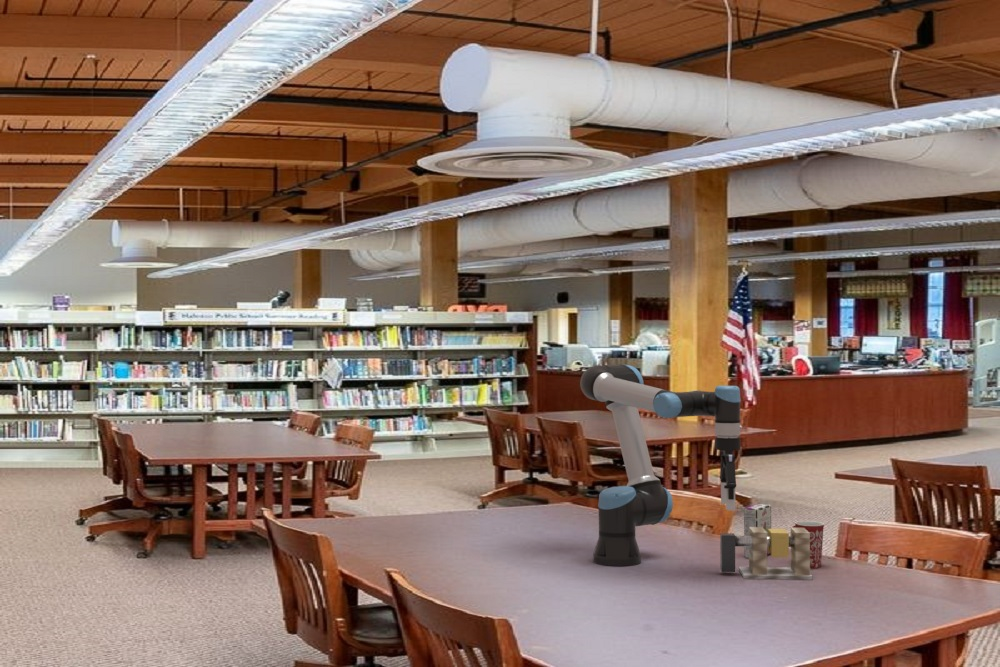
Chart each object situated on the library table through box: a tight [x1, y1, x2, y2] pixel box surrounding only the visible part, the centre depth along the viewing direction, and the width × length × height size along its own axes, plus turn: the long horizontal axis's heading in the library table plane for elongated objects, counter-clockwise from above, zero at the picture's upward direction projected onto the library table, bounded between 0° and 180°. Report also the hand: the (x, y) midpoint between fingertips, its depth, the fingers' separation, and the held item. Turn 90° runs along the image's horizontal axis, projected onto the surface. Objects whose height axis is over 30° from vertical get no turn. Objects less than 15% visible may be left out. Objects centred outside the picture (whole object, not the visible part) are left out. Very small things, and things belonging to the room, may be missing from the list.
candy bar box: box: [743, 503, 772, 559], centre depth 388 cm, size 11×5×16 cm, turn 143°
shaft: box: [719, 532, 795, 573], centre depth 359 cm, size 24×4×11 cm, turn 85°
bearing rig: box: [738, 527, 813, 581], centre depth 358 cm, size 20×13×14 cm, turn 85°
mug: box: [791, 520, 825, 569], centre depth 373 cm, size 13×9×14 cm
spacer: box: [768, 528, 790, 558], centre depth 358 cm, size 5×8×7 cm, turn 175°
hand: (728, 507), depth 359 cm, fingers open, 13 cm apart
